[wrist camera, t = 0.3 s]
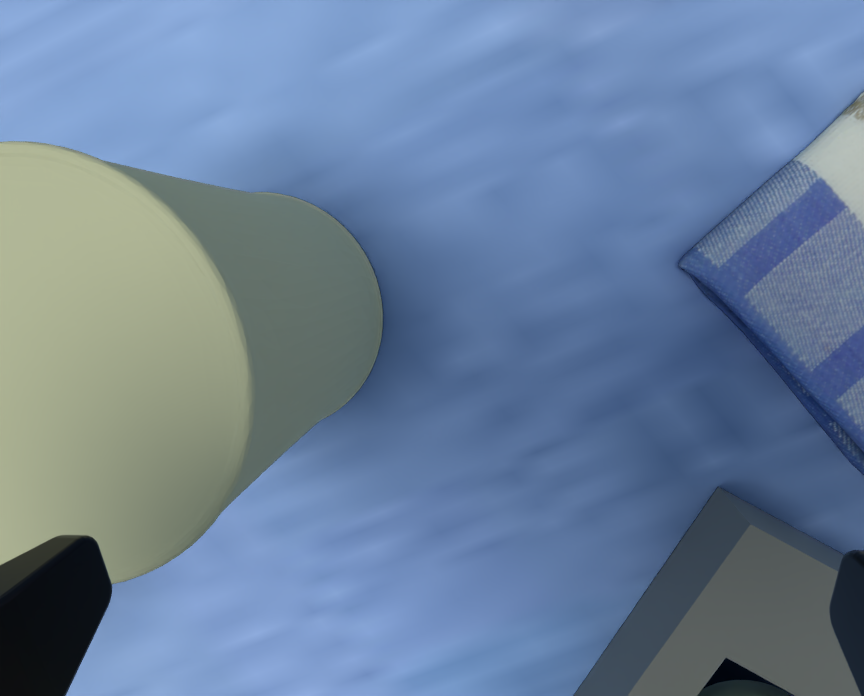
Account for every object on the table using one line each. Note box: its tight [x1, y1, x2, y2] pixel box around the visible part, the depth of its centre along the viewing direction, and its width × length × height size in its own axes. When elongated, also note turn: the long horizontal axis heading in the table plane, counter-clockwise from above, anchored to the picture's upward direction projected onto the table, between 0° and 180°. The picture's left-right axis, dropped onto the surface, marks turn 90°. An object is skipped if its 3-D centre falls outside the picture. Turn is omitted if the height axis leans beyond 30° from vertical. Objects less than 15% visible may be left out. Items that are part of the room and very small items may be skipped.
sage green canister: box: [0, 141, 383, 584], centre depth 17 cm, size 9×9×12 cm
